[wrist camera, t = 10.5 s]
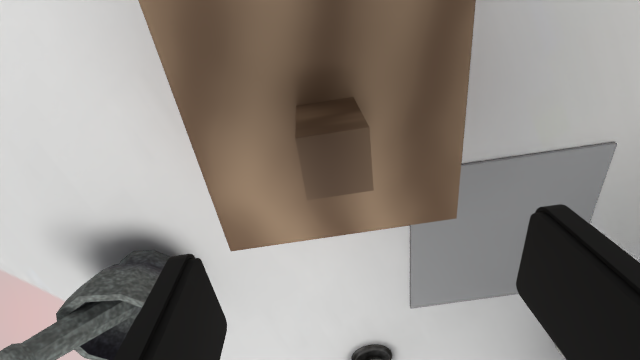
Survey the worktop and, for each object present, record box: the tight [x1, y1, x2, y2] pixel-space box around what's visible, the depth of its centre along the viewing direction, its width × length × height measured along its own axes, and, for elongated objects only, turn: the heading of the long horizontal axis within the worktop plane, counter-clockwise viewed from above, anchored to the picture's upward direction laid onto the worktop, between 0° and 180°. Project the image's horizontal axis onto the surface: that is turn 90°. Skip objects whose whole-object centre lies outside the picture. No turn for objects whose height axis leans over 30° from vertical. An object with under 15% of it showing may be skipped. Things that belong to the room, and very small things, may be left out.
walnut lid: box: [139, 0, 476, 251], centre depth 17 cm, size 16×16×6 cm
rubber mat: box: [410, 142, 617, 308], centre depth 33 cm, size 18×18×1 cm
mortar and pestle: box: [0, 250, 170, 360], centre depth 28 cm, size 11×9×12 cm
